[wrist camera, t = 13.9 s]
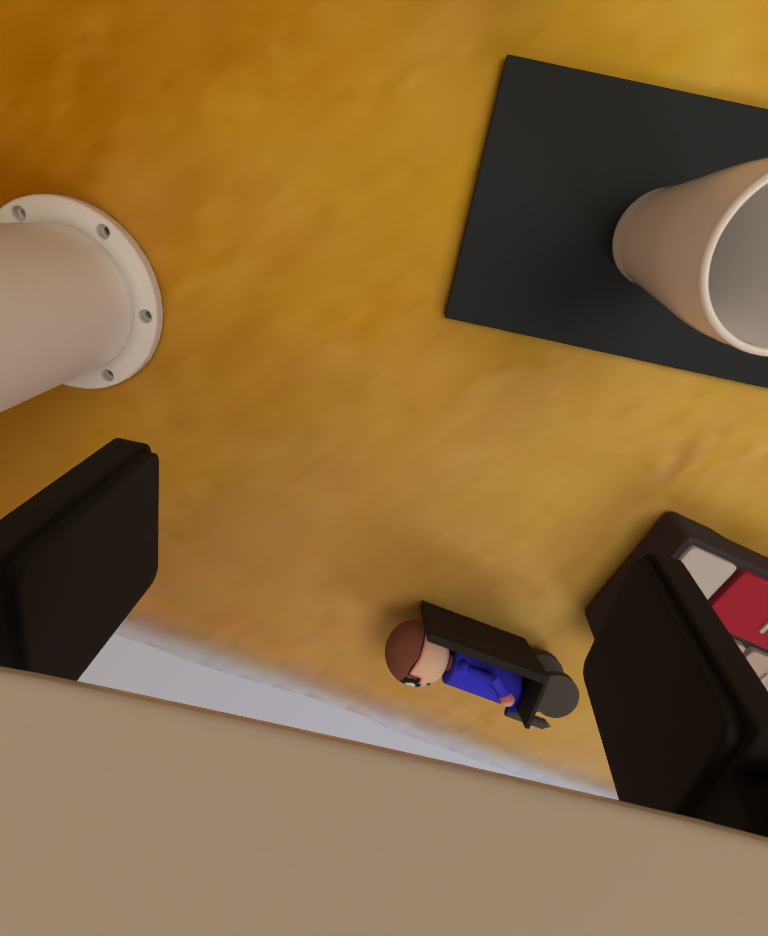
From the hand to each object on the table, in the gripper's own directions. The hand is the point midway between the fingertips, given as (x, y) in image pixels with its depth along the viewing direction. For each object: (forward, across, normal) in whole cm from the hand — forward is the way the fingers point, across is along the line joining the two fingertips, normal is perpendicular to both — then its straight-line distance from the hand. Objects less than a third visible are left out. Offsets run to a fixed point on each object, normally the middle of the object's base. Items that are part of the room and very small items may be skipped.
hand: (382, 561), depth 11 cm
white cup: (+28, -12, -7) cm, 31 cm away
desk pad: (+28, -12, -7) cm, 31 cm away
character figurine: (+28, -10, +25) cm, 39 cm away
